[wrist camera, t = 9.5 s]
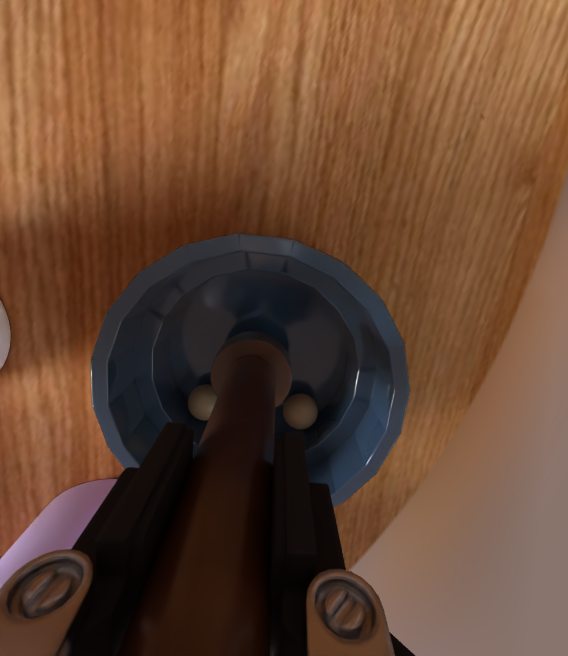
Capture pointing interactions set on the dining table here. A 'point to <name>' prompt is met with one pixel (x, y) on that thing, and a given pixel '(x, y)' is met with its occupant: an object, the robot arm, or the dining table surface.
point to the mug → (4, 335)
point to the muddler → (220, 520)
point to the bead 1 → (202, 401)
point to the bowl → (262, 316)
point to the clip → (56, 525)
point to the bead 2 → (300, 411)
